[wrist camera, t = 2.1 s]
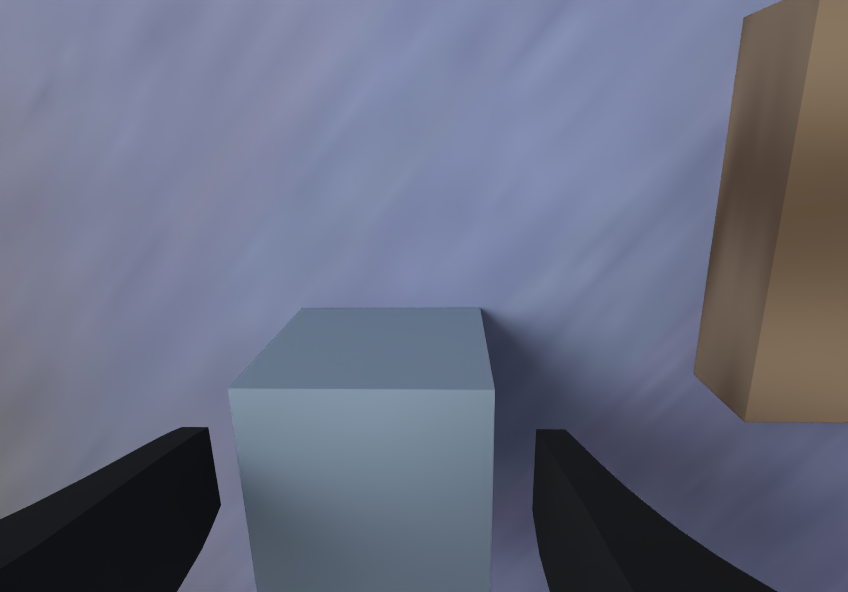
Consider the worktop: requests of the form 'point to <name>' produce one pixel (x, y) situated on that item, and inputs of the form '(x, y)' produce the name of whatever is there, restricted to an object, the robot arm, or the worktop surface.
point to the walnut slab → (783, 223)
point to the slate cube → (369, 452)
